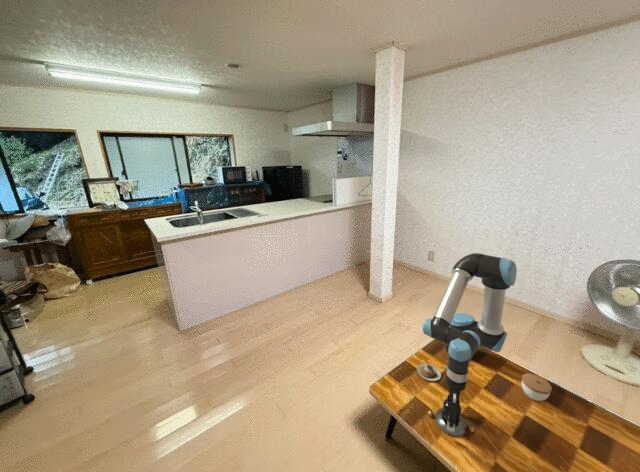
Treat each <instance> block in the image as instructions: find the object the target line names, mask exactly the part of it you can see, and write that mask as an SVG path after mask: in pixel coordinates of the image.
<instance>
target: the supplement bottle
mask: <svg viewBox="0 0 640 472" xmlns="http://www.w3.org/2000/svg"><path fill="white" fill-rule="evenodd" d="M460 403H461V401H460V400H459V402H458V405H457V415H456V425H455V427H457V426H458V425H459V421H460V415H461V414H462V407H461V404H460ZM442 408H443V410H442V420H443V422H444V423H445V424H446V425H447V422H448V419H446V418H447V417H448V416H449V409H450V400H449V394H448V395H447V397H446V399H444V400H443V404H442ZM461 416H462V415H461Z"/></svg>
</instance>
